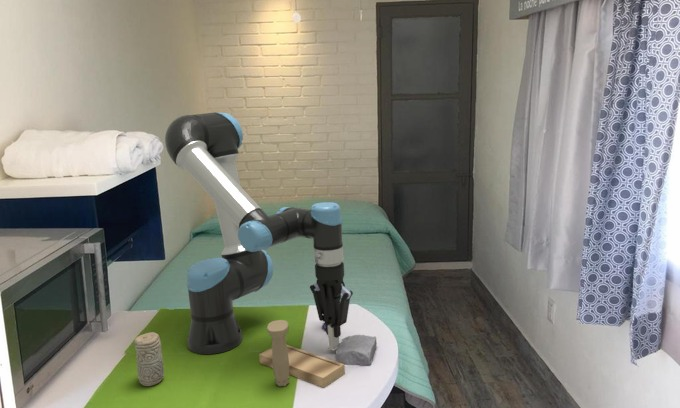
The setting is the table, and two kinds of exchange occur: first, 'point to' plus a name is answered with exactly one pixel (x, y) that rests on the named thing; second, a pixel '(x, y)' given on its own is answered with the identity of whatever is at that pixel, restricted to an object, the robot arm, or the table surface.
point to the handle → (279, 351)
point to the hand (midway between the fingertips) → (334, 347)
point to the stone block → (356, 350)
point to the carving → (149, 359)
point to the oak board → (308, 366)
